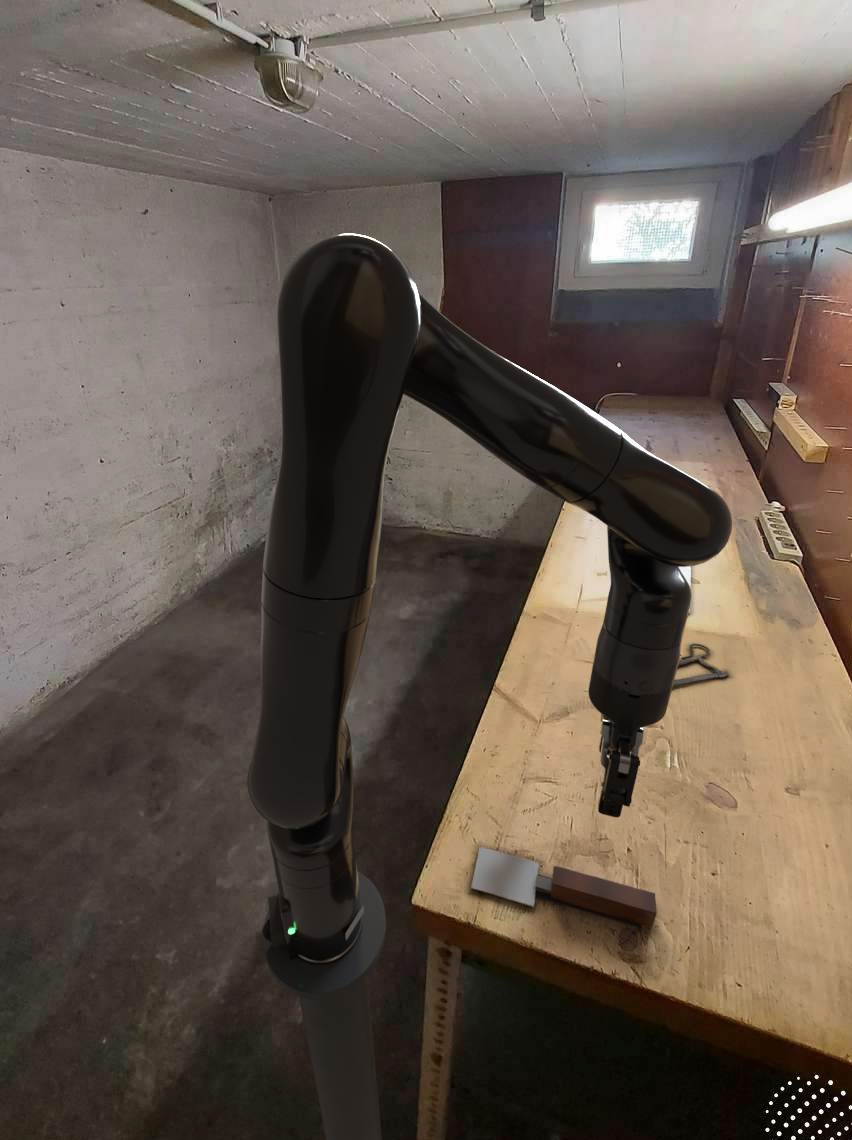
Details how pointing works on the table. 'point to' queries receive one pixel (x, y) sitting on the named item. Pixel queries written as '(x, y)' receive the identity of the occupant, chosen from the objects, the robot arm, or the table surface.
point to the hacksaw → (699, 658)
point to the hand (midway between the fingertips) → (608, 781)
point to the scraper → (561, 887)
